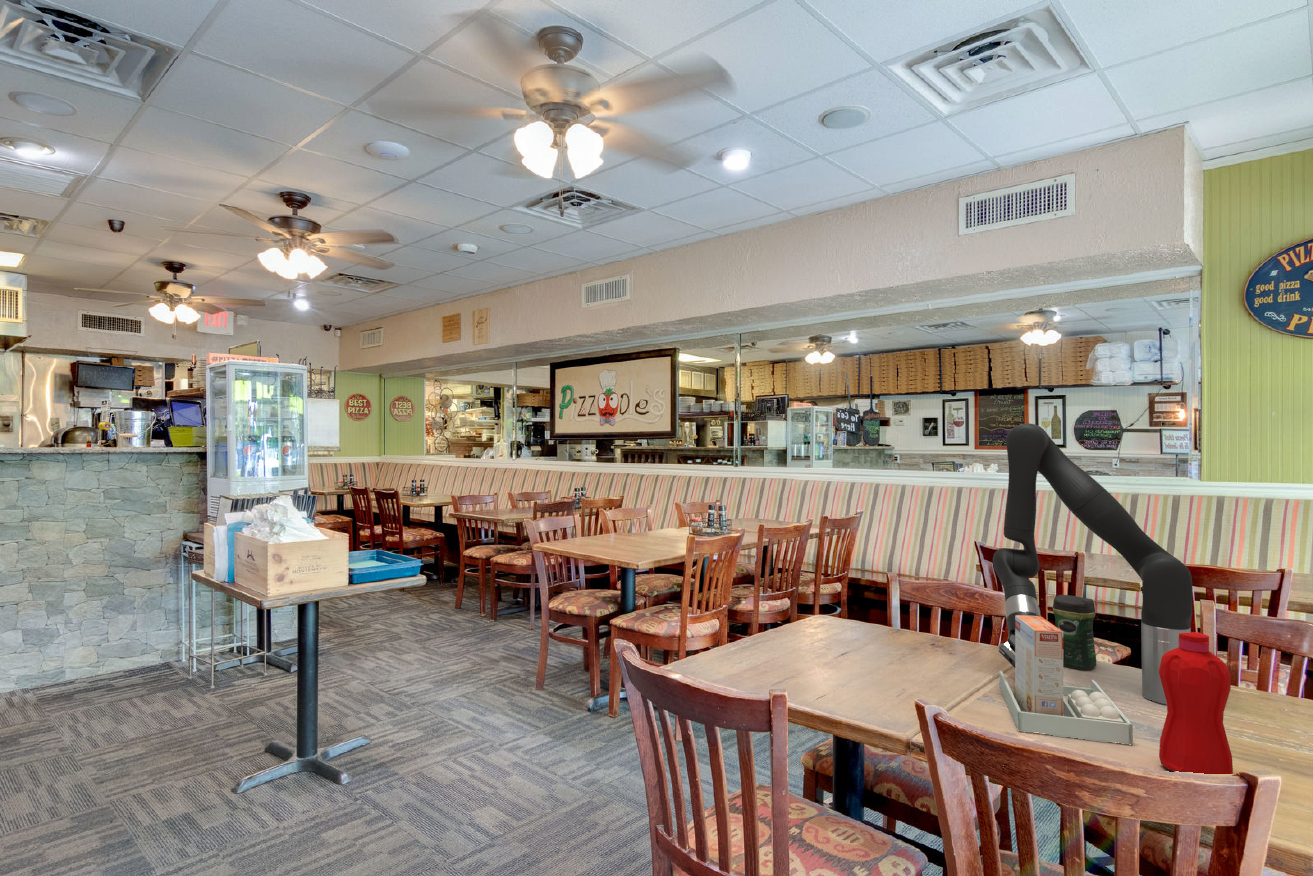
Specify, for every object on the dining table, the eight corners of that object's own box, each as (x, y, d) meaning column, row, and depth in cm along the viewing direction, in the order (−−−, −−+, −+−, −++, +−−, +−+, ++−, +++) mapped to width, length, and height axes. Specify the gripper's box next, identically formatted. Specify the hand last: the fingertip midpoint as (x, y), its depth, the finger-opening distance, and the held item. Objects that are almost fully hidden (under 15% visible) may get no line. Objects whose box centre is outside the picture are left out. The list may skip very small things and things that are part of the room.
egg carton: (1104, 718, 150) (1104, 689, 150) (1124, 744, 136) (1123, 712, 137) (1067, 714, 152) (1067, 685, 152) (1083, 739, 139) (1082, 707, 139)
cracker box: (1065, 734, 141) (1064, 631, 141) (1033, 731, 142) (1032, 629, 142) (1043, 709, 154) (1043, 615, 155) (1014, 706, 156) (1013, 613, 156)
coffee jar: (1101, 667, 184) (1100, 597, 184) (1087, 673, 179) (1086, 601, 180) (1062, 658, 192) (1062, 591, 192) (1048, 663, 187) (1047, 594, 188)
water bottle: (1186, 756, 131) (1184, 623, 131) (1243, 783, 120) (1241, 638, 120) (1142, 759, 129) (1141, 625, 130) (1196, 787, 118) (1194, 640, 119)
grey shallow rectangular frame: (1094, 697, 162) (1094, 680, 162) (1132, 745, 135) (1132, 725, 135) (999, 687, 168) (999, 671, 168) (1018, 731, 142) (1018, 712, 142)
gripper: (994, 607, 167) (1002, 674, 155) (1057, 612, 162) (1069, 681, 151) (992, 624, 172) (999, 690, 160) (1052, 629, 167) (1064, 697, 155)
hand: (1033, 686), depth 155 cm, fingers closed
